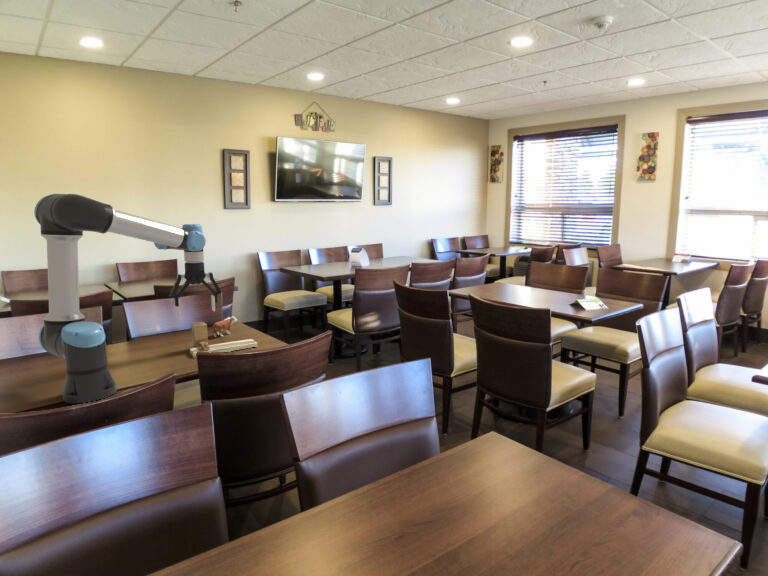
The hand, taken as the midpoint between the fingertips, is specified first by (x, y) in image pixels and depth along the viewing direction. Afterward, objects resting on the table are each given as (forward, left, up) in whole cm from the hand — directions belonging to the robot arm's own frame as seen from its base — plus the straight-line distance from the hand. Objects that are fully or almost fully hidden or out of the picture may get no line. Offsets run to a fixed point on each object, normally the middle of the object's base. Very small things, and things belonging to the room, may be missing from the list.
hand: (197, 312), depth 207 cm
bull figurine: (+17, -15, -16) cm, 28 cm away
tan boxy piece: (-4, 0, -16) cm, 17 cm away
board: (-7, -8, -16) cm, 19 cm away
